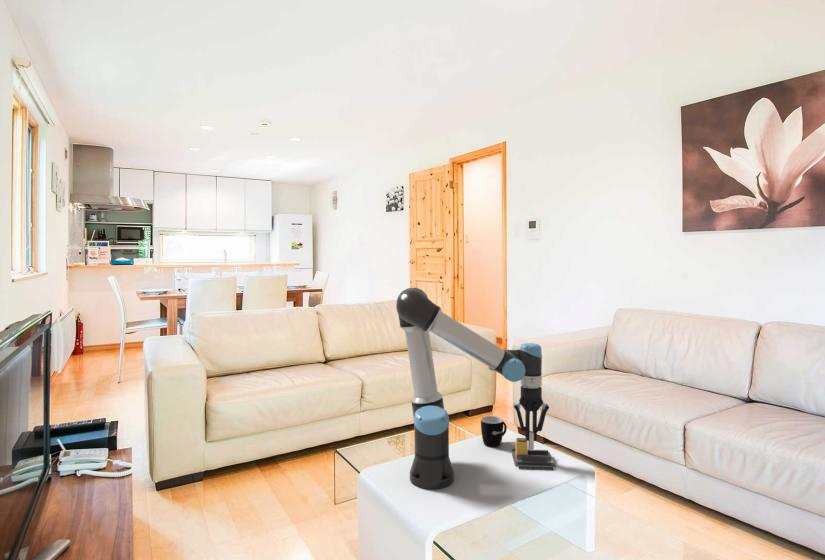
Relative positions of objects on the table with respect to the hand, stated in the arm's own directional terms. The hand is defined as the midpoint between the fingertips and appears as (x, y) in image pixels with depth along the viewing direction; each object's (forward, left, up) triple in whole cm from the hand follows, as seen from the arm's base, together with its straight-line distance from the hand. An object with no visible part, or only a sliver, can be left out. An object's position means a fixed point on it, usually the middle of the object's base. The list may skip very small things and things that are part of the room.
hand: (531, 449), depth 174 cm
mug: (-12, +16, -5) cm, 20 cm away
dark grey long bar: (+1, -7, -4) cm, 8 cm away
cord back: (0, +8, -4) cm, 9 cm away
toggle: (-3, 0, -3) cm, 5 cm away
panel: (+1, 0, -4) cm, 4 cm away
